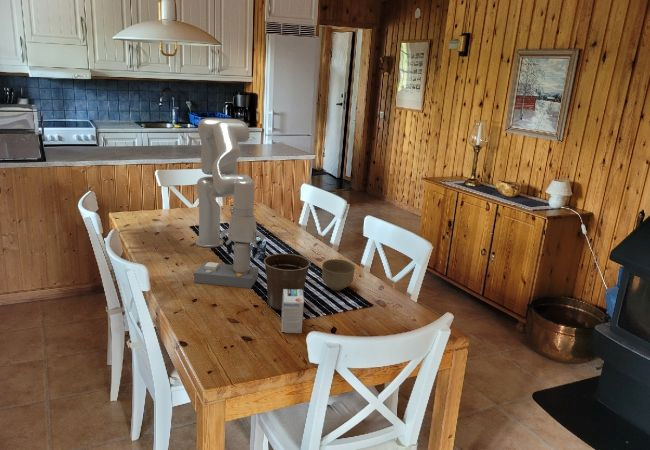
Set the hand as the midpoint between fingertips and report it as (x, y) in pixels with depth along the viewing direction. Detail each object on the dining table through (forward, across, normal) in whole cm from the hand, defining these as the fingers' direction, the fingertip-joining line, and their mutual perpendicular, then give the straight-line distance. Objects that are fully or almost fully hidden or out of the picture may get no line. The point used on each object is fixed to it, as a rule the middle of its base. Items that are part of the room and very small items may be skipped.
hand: (242, 254), depth 202 cm
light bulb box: (+10, +25, -32) cm, 43 cm away
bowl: (+11, +37, +2) cm, 39 cm away
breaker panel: (+11, -6, 0) cm, 12 cm away
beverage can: (+7, 0, 0) cm, 7 cm away
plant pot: (+11, +20, -16) cm, 28 cm away
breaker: (+8, -12, 0) cm, 14 cm away
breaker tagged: (+10, 0, -1) cm, 10 cm away
